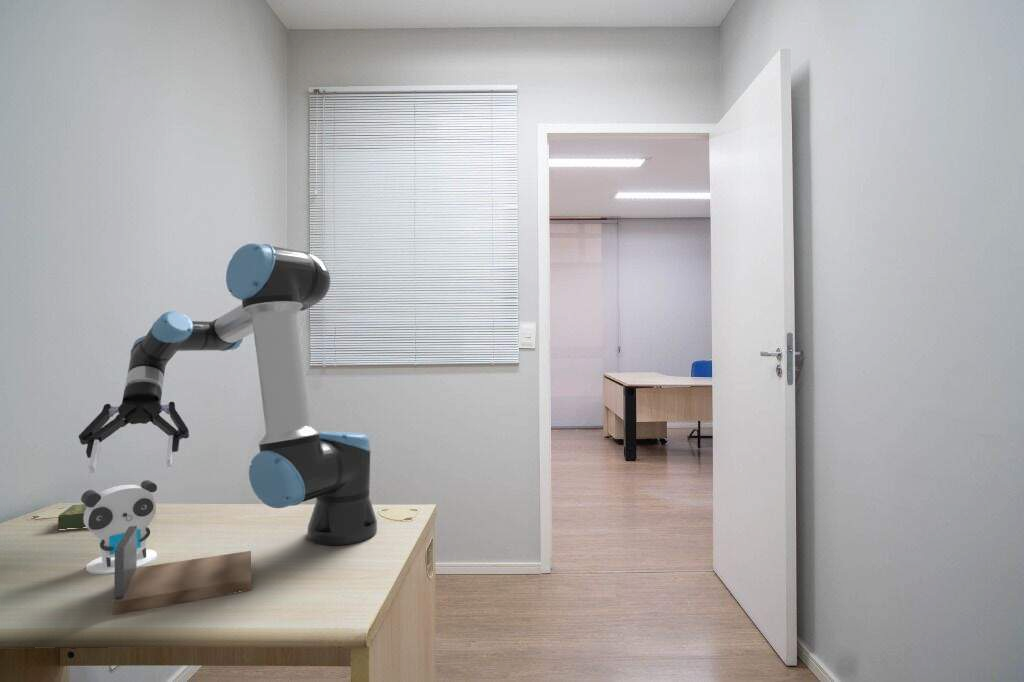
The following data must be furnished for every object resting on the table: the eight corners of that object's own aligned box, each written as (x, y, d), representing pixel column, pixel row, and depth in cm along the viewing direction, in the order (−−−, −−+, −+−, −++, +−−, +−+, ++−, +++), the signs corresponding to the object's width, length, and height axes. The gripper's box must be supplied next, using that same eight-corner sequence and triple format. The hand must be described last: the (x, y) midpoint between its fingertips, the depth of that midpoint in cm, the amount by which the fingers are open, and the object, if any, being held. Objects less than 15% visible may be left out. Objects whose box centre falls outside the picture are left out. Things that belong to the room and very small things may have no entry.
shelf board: (250, 560, 108) (250, 550, 108) (251, 590, 95) (251, 578, 95) (129, 579, 99) (129, 568, 99) (112, 614, 86) (112, 602, 86)
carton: (140, 524, 129) (140, 507, 129) (56, 533, 123) (56, 514, 123) (149, 514, 137) (149, 497, 137) (71, 521, 131) (71, 503, 131)
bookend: (136, 569, 99) (136, 525, 99) (123, 598, 88) (123, 548, 88) (128, 570, 98) (128, 526, 98) (114, 599, 87) (114, 550, 87)
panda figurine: (89, 580, 98) (90, 498, 98) (75, 563, 106) (76, 487, 106) (165, 561, 108) (165, 485, 107) (146, 546, 115) (147, 475, 115)
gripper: (204, 398, 138) (199, 470, 124) (81, 402, 126) (61, 481, 113) (202, 378, 133) (197, 451, 119) (75, 381, 122) (53, 461, 108)
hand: (131, 466), depth 116 cm, fingers open, 13 cm apart
